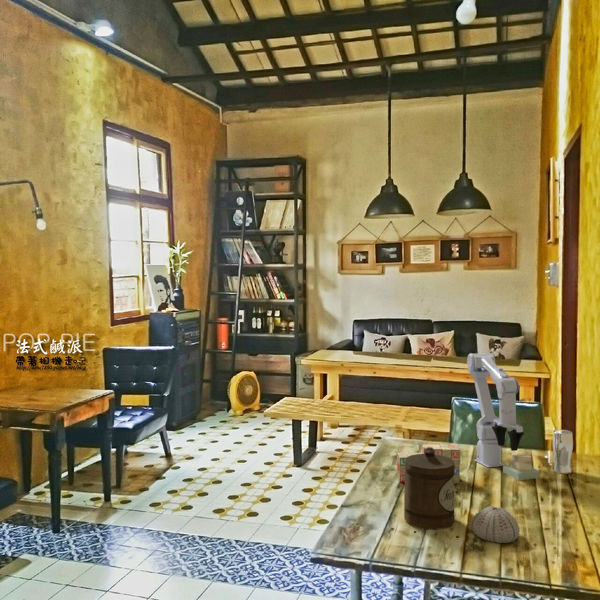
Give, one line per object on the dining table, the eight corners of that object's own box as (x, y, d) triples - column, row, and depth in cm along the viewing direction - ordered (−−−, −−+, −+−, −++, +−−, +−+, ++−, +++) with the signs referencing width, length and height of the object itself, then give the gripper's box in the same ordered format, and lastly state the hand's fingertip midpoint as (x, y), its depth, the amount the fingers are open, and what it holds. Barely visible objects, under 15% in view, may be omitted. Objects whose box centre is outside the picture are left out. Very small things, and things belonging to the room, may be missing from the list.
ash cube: (510, 467, 227) (511, 453, 227) (522, 465, 229) (522, 452, 229) (519, 471, 223) (519, 457, 222) (531, 469, 224) (531, 456, 224)
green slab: (503, 474, 229) (503, 466, 229) (523, 471, 231) (523, 463, 231) (518, 481, 220) (518, 473, 220) (539, 479, 223) (539, 470, 223)
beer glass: (575, 474, 226) (576, 434, 226) (556, 474, 226) (557, 434, 226) (567, 468, 233) (568, 429, 233) (549, 468, 233) (549, 429, 233)
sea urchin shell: (486, 523, 182) (486, 496, 182) (529, 537, 172) (529, 509, 172) (461, 535, 174) (461, 507, 173) (504, 551, 163) (504, 521, 163)
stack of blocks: (399, 483, 218) (399, 448, 218) (397, 477, 225) (397, 444, 224) (459, 483, 218) (460, 449, 217) (455, 477, 224) (456, 444, 223)
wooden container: (455, 531, 176) (455, 456, 175) (403, 527, 179) (403, 453, 178) (453, 512, 191) (453, 442, 190) (405, 509, 194) (405, 440, 193)
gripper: (486, 408, 230) (486, 444, 230) (510, 415, 216) (511, 453, 216) (502, 406, 232) (502, 442, 232) (527, 413, 218) (527, 451, 219)
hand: (507, 447), depth 225 cm, fingers open, 7 cm apart
